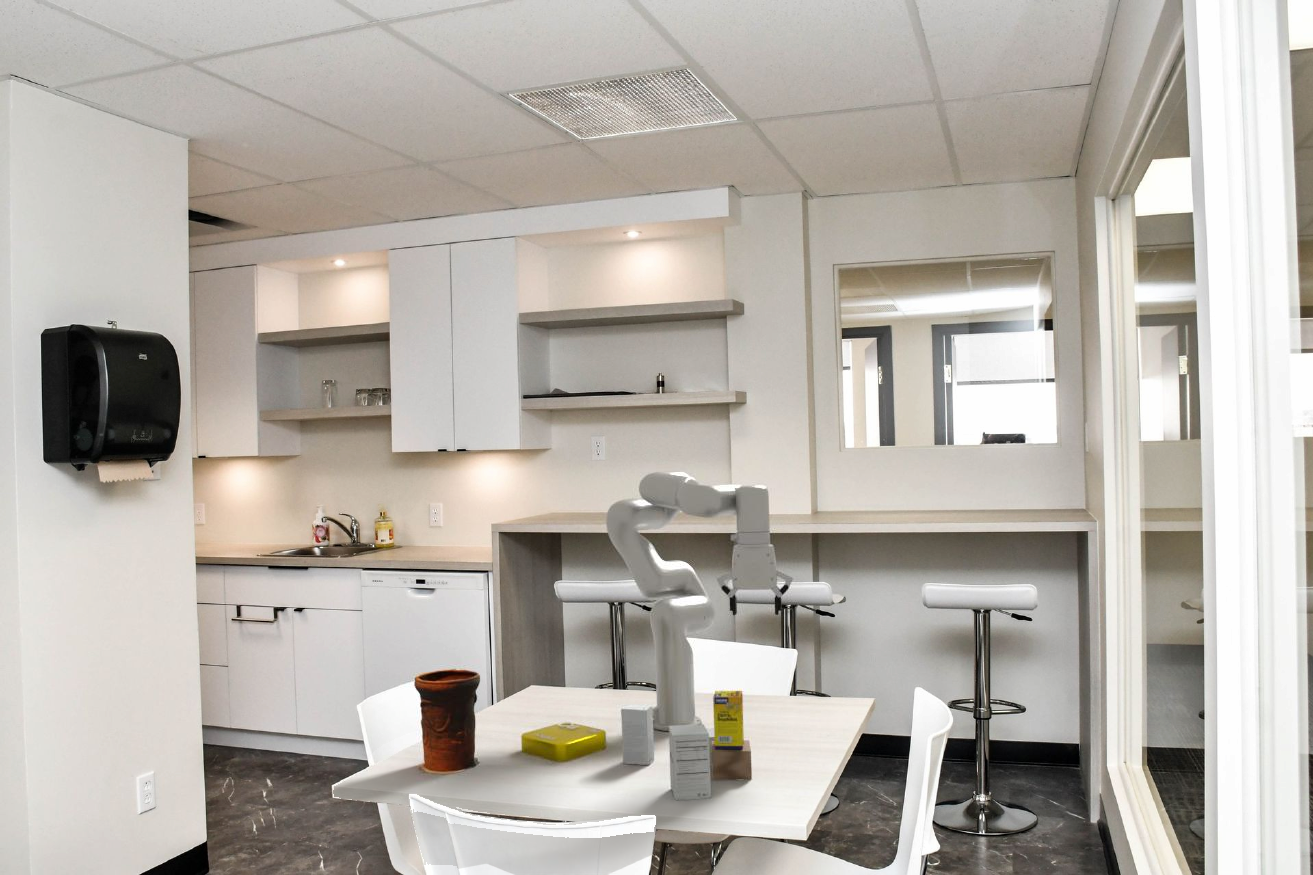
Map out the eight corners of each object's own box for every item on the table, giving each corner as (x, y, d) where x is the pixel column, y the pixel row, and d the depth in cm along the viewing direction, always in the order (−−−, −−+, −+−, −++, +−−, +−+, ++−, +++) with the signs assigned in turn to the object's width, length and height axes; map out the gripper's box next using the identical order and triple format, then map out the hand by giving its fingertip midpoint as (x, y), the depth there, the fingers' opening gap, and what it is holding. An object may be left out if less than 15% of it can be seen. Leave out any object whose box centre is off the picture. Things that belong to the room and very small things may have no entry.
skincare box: (654, 760, 220) (653, 705, 220) (648, 765, 216) (646, 710, 216) (629, 758, 222) (627, 704, 222) (622, 763, 218) (620, 708, 218)
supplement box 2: (743, 750, 206) (741, 696, 206) (714, 749, 206) (712, 696, 207) (744, 741, 211) (742, 690, 212) (716, 741, 212) (714, 690, 212)
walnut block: (712, 781, 205) (711, 751, 205) (712, 769, 213) (711, 740, 213) (751, 780, 204) (750, 750, 205) (749, 768, 212) (749, 740, 213)
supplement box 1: (670, 788, 200) (668, 725, 201) (706, 786, 201) (704, 723, 201) (673, 800, 193) (671, 734, 193) (711, 798, 194) (709, 732, 194)
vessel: (409, 760, 225) (409, 671, 226) (471, 753, 231) (471, 666, 232) (420, 778, 212) (420, 683, 213) (486, 769, 218) (486, 677, 218)
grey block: (703, 765, 215) (702, 737, 216) (699, 756, 222) (698, 728, 223) (735, 763, 216) (734, 735, 216) (730, 754, 223) (729, 727, 223)
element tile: (518, 753, 230) (517, 732, 230) (566, 738, 241) (565, 718, 241) (561, 764, 220) (560, 742, 220) (609, 749, 231) (609, 728, 231)
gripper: (714, 541, 227) (716, 616, 226) (791, 540, 224) (793, 616, 223) (717, 538, 234) (719, 611, 234) (792, 537, 231) (794, 611, 231)
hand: (755, 614), depth 228 cm, fingers open, 9 cm apart
